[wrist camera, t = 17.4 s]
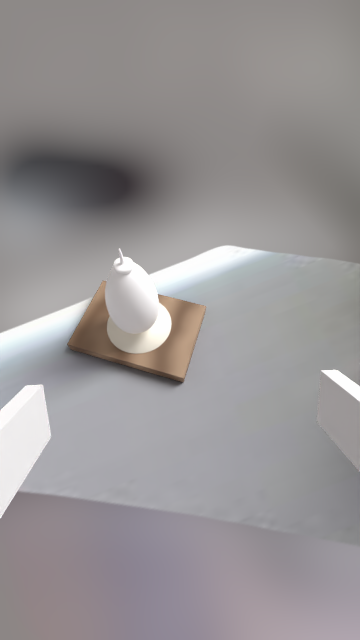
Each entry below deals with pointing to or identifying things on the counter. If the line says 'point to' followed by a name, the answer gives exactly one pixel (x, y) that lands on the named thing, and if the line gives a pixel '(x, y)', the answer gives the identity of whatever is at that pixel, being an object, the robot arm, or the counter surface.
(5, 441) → the robot arm
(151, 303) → the white pear with stem
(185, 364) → the walnut board
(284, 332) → the counter surface
